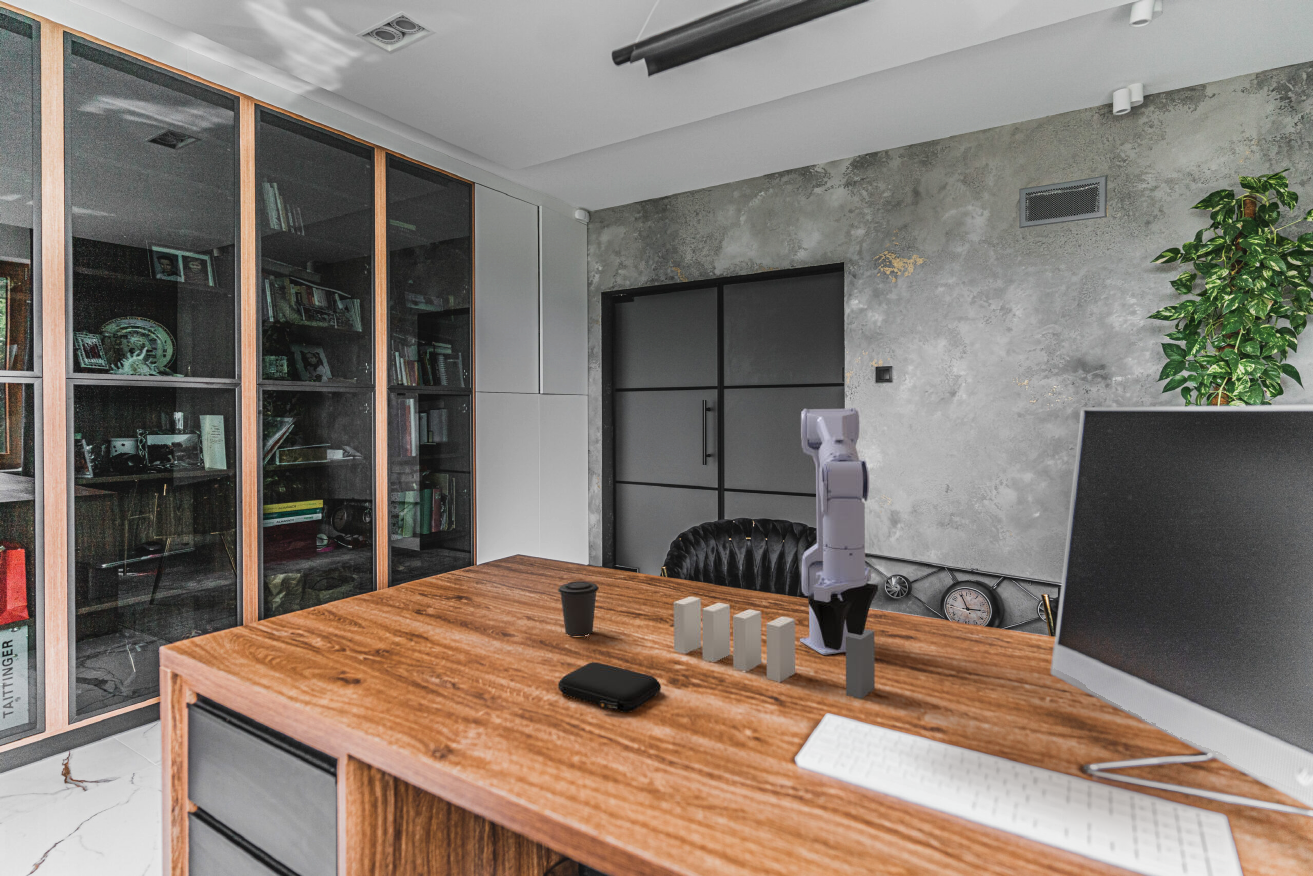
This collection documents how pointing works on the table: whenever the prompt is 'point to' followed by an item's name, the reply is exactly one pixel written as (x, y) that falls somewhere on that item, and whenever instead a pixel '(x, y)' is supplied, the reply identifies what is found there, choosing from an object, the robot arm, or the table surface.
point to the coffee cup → (578, 607)
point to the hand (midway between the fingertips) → (844, 640)
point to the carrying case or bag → (610, 686)
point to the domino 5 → (860, 664)
